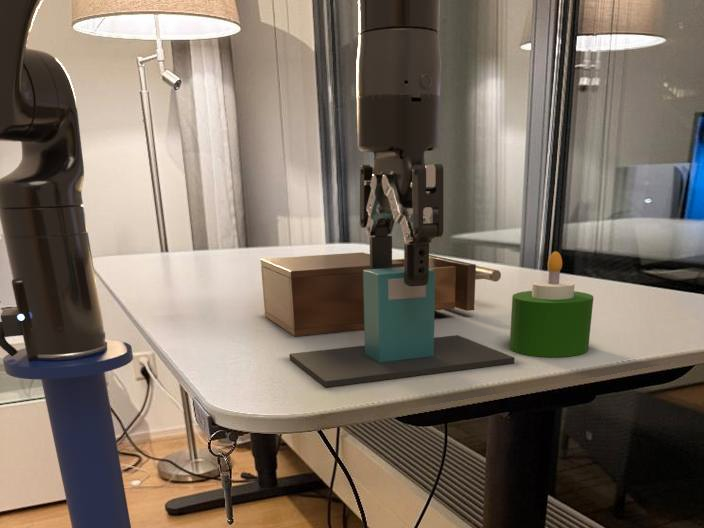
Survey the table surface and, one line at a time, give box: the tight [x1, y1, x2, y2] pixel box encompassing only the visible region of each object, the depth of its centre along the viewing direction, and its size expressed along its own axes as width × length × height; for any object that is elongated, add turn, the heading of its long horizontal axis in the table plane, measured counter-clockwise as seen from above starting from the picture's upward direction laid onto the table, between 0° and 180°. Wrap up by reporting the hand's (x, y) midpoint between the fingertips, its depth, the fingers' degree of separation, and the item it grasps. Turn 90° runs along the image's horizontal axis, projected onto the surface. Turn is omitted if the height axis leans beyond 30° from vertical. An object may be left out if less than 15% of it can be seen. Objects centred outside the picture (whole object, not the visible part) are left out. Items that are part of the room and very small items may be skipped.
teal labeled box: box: [363, 267, 435, 363], centre depth 72 cm, size 6×4×8 cm
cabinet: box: [260, 252, 404, 337], centre depth 94 cm, size 15×15×8 cm
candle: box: [509, 250, 594, 358], centre depth 76 cm, size 8×8×10 cm
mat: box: [289, 334, 515, 388], centre depth 74 cm, size 20×12×1 cm, turn 111°
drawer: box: [393, 254, 502, 312], centre depth 98 cm, size 19×13×6 cm
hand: (397, 279), depth 71 cm, fingers open, 8 cm apart
